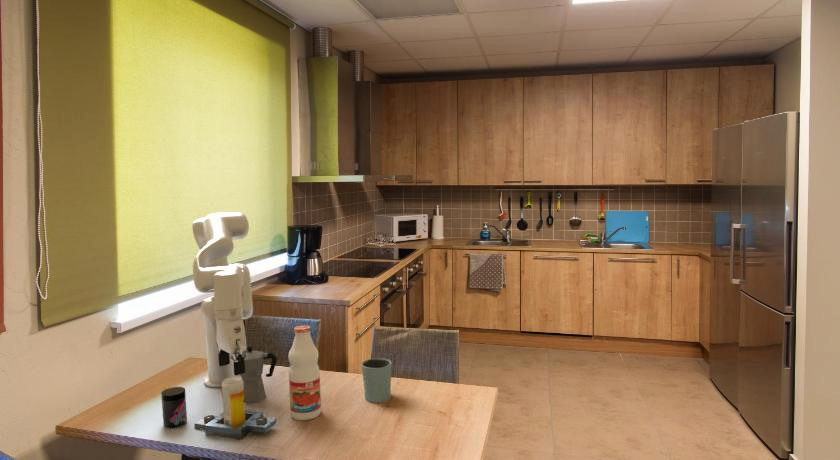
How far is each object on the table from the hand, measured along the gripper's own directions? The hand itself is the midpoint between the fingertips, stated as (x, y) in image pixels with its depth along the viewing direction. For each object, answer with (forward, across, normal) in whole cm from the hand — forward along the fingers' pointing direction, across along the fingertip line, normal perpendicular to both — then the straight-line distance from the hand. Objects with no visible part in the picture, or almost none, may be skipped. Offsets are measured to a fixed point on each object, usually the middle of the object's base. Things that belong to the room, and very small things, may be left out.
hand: (231, 369), depth 168 cm
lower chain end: (+18, +2, +2) cm, 18 cm away
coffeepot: (+19, +15, -15) cm, 28 cm away
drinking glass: (+18, -14, -44) cm, 49 cm away
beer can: (+18, -1, 0) cm, 18 cm away
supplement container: (+18, +15, +12) cm, 27 cm away
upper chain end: (+16, -3, -1) cm, 17 cm away
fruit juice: (+18, -8, -20) cm, 28 cm away
